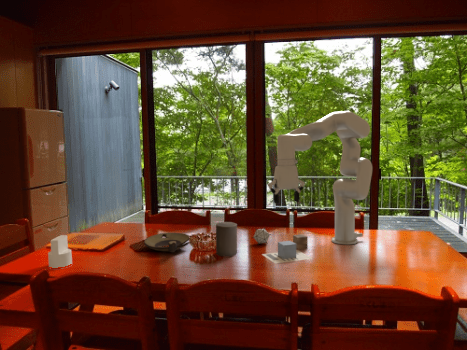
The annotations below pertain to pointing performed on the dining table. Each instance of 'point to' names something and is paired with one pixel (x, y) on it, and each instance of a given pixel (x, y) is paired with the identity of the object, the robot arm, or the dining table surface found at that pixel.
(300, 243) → the walnut block
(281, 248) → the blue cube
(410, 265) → the dining table surface
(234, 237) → the pillar candle
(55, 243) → the base with upright slab
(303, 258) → the letter
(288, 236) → the dining table surface
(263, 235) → the game die
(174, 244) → the oil lamp
